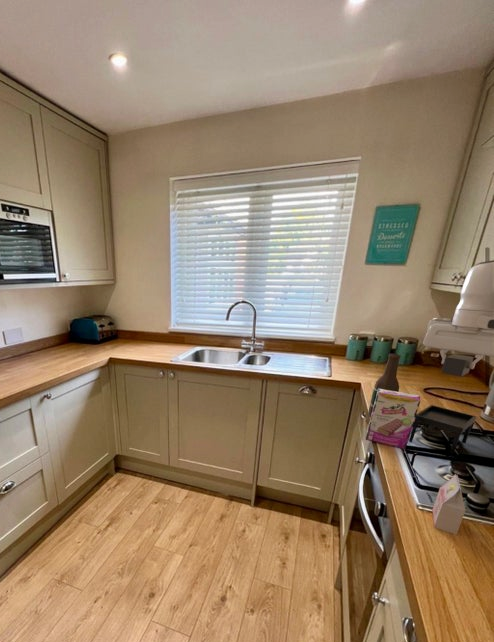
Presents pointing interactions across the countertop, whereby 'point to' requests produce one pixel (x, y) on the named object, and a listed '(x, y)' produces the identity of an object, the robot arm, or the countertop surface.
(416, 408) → the candy bar box
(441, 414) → the black tray stand
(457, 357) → the black box
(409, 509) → the countertop surface
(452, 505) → the small gable carton
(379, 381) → the beer bottle
